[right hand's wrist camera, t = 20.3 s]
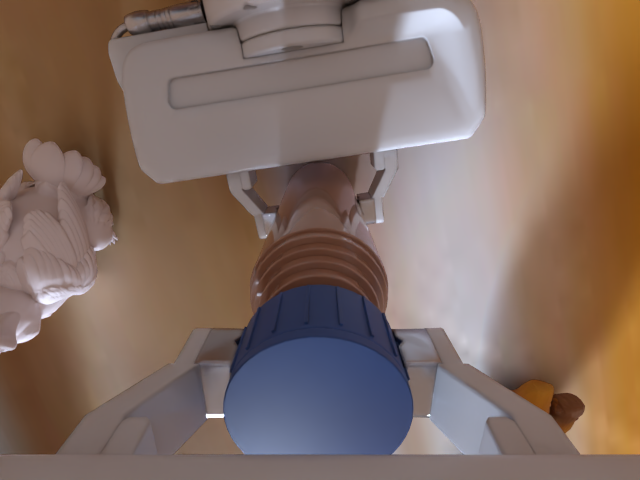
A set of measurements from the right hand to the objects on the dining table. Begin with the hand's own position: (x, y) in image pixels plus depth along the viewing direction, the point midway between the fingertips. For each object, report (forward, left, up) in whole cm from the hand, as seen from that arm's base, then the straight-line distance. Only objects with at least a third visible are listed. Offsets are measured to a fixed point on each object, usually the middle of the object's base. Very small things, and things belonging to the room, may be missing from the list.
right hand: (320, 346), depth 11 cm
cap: (0, 0, +2) cm, 2 cm away
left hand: (0, -1, -14) cm, 14 cm away
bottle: (0, 0, -19) cm, 19 cm away
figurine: (-19, +8, -19) cm, 28 cm away
